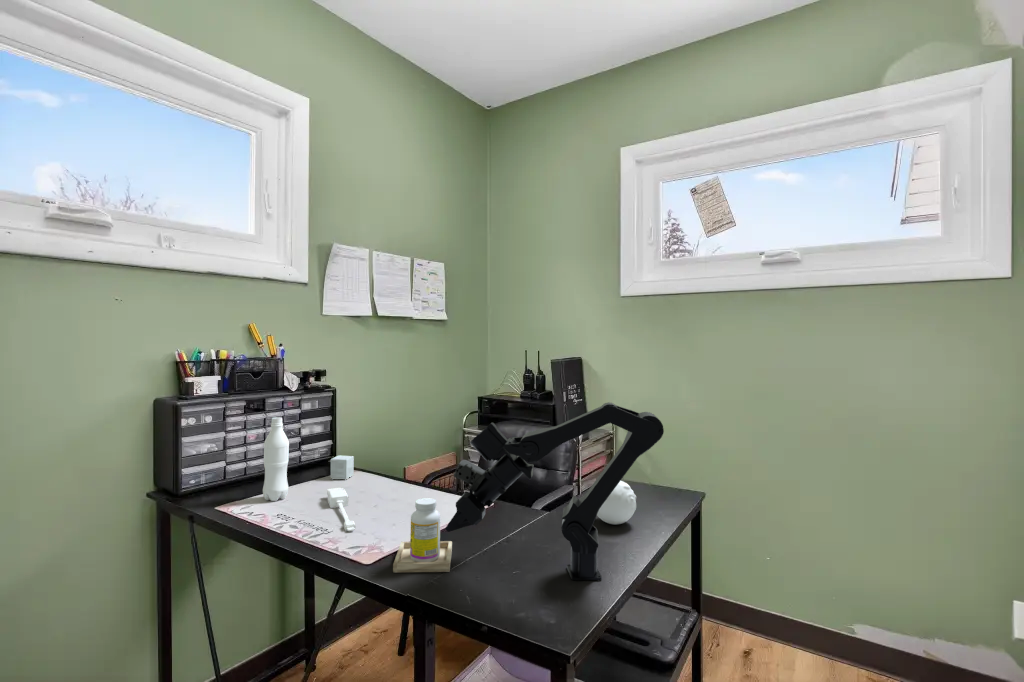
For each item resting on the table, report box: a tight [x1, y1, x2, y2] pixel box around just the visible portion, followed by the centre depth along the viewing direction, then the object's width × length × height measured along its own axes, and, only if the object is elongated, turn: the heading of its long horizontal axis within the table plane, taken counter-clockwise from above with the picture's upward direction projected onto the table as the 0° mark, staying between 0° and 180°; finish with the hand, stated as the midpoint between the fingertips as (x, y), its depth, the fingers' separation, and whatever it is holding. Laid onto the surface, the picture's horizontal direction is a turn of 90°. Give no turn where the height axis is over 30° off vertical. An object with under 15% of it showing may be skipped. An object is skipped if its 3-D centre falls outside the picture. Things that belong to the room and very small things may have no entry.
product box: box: [330, 454, 355, 480], centre depth 180 cm, size 6×6×7 cm
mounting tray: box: [392, 540, 453, 573], centre depth 114 cm, size 12×12×2 cm
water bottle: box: [262, 416, 290, 502], centre depth 155 cm, size 7×7×25 cm
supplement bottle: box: [409, 497, 441, 562], centre depth 114 cm, size 7×7×13 cm
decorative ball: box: [596, 480, 637, 525], centre depth 140 cm, size 12×12×12 cm
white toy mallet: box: [326, 487, 356, 532], centre depth 144 cm, size 5×32×3 cm, turn 27°
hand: (452, 522), depth 113 cm, fingers open, 9 cm apart
